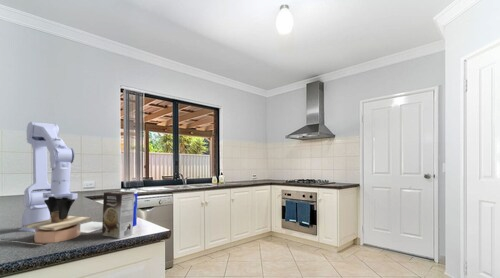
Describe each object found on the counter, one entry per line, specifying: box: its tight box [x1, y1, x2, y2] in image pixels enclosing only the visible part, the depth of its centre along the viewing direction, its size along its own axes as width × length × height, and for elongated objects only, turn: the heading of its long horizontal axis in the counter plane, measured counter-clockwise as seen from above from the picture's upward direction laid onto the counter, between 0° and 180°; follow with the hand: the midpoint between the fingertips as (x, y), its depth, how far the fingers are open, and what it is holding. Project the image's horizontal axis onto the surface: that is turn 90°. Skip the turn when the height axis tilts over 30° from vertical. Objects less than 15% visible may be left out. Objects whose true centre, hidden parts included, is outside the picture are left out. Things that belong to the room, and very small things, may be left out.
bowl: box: [33, 223, 81, 245], centre depth 95 cm, size 13×13×4 cm
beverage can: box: [124, 189, 138, 227], centre depth 112 cm, size 5×5×15 cm
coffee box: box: [101, 190, 134, 240], centre depth 99 cm, size 9×6×16 cm
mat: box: [79, 220, 103, 234], centre depth 110 cm, size 15×15×1 cm
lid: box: [25, 211, 92, 231], centre depth 96 cm, size 14×14×4 cm
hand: (58, 218), depth 95 cm, fingers closed on lid, 3 cm apart
